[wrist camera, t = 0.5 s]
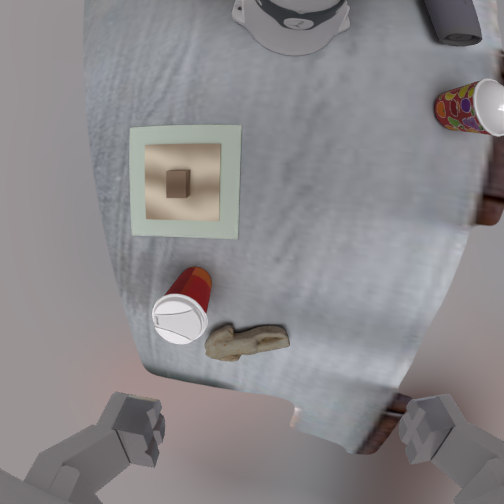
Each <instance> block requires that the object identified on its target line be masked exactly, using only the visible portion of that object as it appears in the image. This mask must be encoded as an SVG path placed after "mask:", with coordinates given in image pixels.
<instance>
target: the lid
mask: <svg viewBox="0 0 504 504" xmlns="http://www.w3.org/2000/svg"><path fill="white" fill-rule="evenodd" d="M220 167H221V144H157V145H145V208H146V219H153V220H191V221H219V215H220Z"/></svg>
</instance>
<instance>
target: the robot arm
mask: <svg viewBox="0 0 504 504" xmlns="http://www.w3.org/2000/svg"><path fill="white" fill-rule="evenodd" d="M239 8H242V10H238V9H239ZM349 9H350V6H349V5H347V1H346V0H235V3H234V6H233V9H232V13H231V17H232V19H233V20H234V21H235V22H237V23H238V24H240V25H242V26H244V27H245V28H247V30H248V31H249V32H250V33H251V35H252V36H253V37H254V39H255V40H256V41H257V42H259V43H260V44H261V45H262V46H264V47H265V48H267V49H269V50H271V51H274V52H276V53H280V54H284V55H291V56H299V55H306V54H310V53H313V52H316V51H318V50H320V49H321V48H323V47H324V46H325V45H327V44H328V43H329V41H330V40H331V39H332V38H333V37H334V36H335V35H336V34H339V33H341V32H344V31H346V30H347V29H348V28H349V26H350V19H349V15H348V12H349ZM161 409H162V406H161V402H160V400H157V399H152V398H147V397H141V396H136V395H131V394H125V393H120V392H115V393H113V394H112V396H111V398H110V400H109V402H108V403H107V405H106V407H105V409H104V411H103V413H102V415H101V417H100V419H99V421H98V423H97V425H91V426H89V427H87V428H85V429H83V430H82V431H80V432H78V433H76V434H74V435H73V436H71V437H69V438H67V439H65V440H63V441H62V442H60V443H58V444H56V445H54V446H52V447H51V448H48V449H47V450H45V451H43V452H41V453H39V455H38V457H37V458H36V460H35V462H34V463H33V465H32V467H31V469H30V471H29V472H28V474H27V476H26V478H25V479H24V481H22V480H20V479H18V478H17V477H15V476H13V475H11V474H9V473H7V472H6V471H4V470H2V469H0V504H103V503H102V502H101V501H100V500H99V498H98V497H97V496H96V494H95V493H96V492H97V491H99V490H100V489H101V488H102V487H104V486H105V485H106V484H107V483H109V482H110V481H111V480H112V479H113V478H115V477H116V476H117V475H118V474H120V473H121V472H122V471H123V470H124V469H126V468H127V467H128V466H129V465H130V463H131V464H136V465H142V466H147V467H153V468H155V466H156V462H157V459H158V456H159V449H158V445H159V444H161V443H162V442H163V438H164V434H165V419H164V416H163V415H162V414H161V413H160V411H161ZM407 410H408V412H407V413H406V414H405V415H404V416H402V418H401V421H400V423H399V435H400V438H401V441H402V442H403V443H405V444H406V445H407V447H406V450H405V452H406V454H407V457H408V459H409V462H410V464H416V463H420V462H425V461H430V460H431V462H432V463H433V464H434V465H435V466H437V467H438V468H439V469H440V470H441V471H442V472H444V473H445V474H446V475H447V476H448V477H450V478H451V479H452V480H453V481H454V482H455V483H457V484H458V485H459V486H460V487H461V488H462V490H461V491H460V492H459V493H458V494H457V496H455V498H454V503H455V504H504V441H502V440H501V439H499V438H497V437H495V436H493V435H492V434H490V433H488V432H486V431H484V430H483V429H481V428H479V427H478V426H476V425H474V424H472V423H467V421H466V420H465V418H464V416H463V414H462V413H461V411H460V410H459V408H458V406H457V405H456V403H455V401H454V400H453V398H452V397H451V396H450V395H449V394H443V395H438V396H432V397H426V398H420V399H414V400H411V401H410V402H409V403H408V406H407Z"/></svg>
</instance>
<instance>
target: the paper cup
mask: <svg viewBox="0 0 504 504" xmlns="http://www.w3.org/2000/svg"><path fill="white" fill-rule="evenodd" d="M211 286H212V281H211V277H210V275H209V274H208V273H207V272H206V271H205V270H204V269H202V268H199V267H190V268H188V269H186V270H185V271H184V272H183V273H182V274H181V275H180V276H179V277H178V279H177V280H176V281H175V282H174V284H173V285H172V286H171V287H170V289H169V290H168V291H167V293H166V294H165V295H164V296H163V297H162V298H160V299H159V300H158V301H157V302H156V303H155V305H154V307H153V311H152V317H153V321H154V324H155V328H156V330H157V332H158V333H159V334H160V335H161V336H162V337H163V338H164V339H166V340H167V341H169V342H172V343H176V344H187V343H190V342H192V341H194V340H195V339H197V338H199V337H200V336H201V335H202V334H203V332H204V330H205V329H206V327H207V323H208V321H207V315H206V312H207V307H208V302H209V297H210V292H211Z"/></svg>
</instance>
